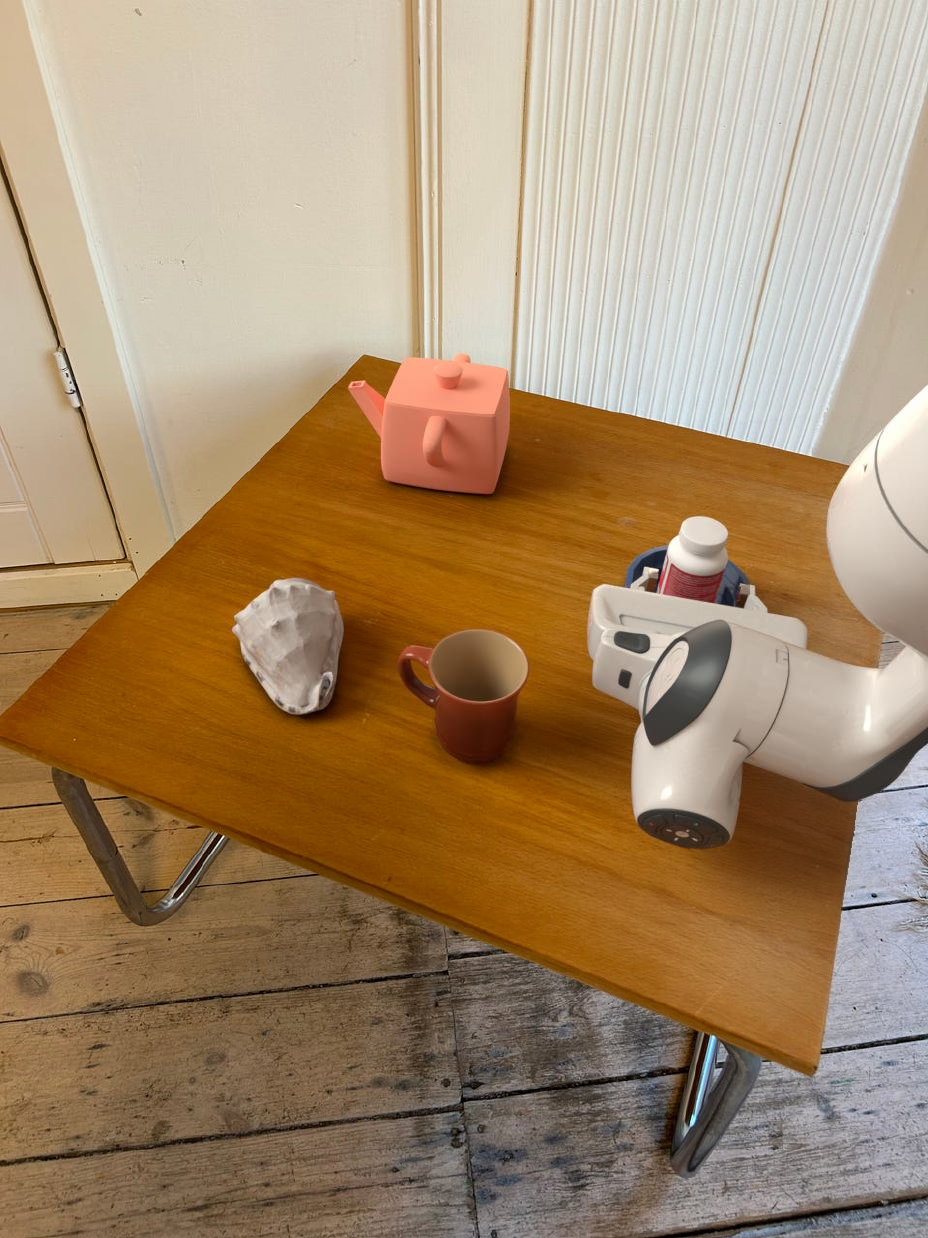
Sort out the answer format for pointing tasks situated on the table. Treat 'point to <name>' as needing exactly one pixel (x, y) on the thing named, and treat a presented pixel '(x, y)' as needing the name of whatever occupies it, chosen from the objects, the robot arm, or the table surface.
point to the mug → (470, 690)
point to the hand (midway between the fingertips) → (697, 580)
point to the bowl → (656, 560)
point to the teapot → (441, 423)
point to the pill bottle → (695, 560)
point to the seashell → (293, 643)
